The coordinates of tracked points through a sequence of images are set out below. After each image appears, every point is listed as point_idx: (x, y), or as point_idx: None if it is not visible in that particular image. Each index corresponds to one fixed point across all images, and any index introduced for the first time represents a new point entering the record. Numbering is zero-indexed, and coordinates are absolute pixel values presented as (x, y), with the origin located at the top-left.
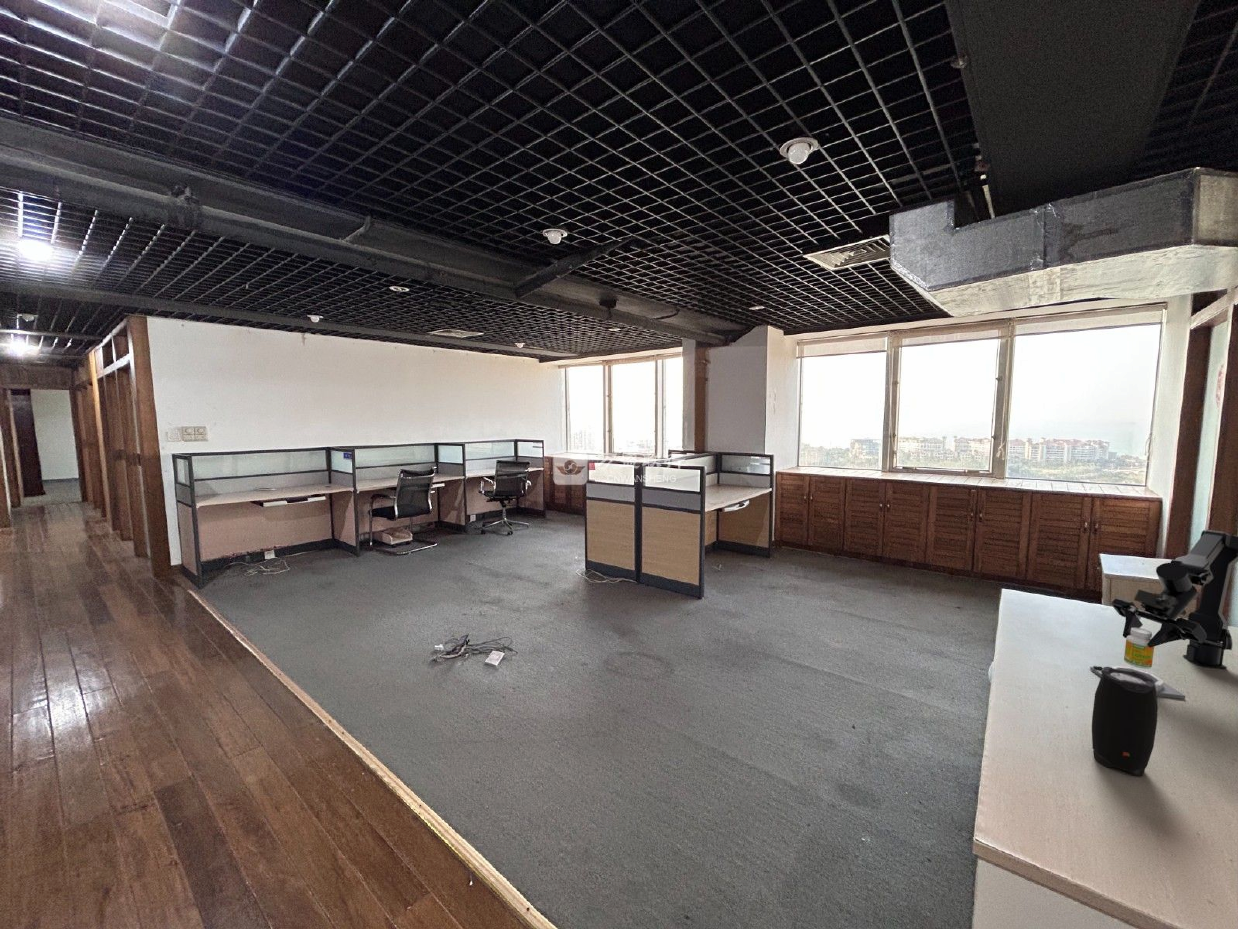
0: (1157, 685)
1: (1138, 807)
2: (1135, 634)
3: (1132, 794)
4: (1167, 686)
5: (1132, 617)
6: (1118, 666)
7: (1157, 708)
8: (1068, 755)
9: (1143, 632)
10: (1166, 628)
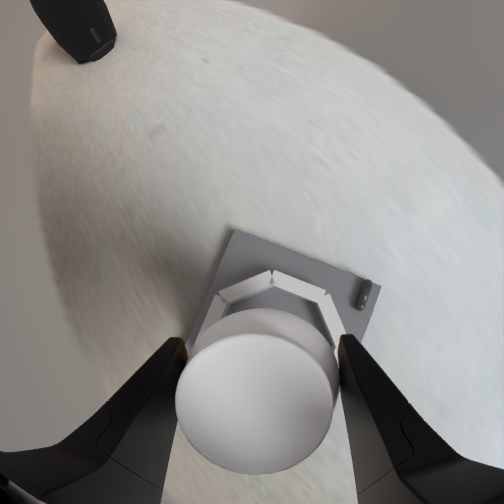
0: (196, 340)
1: None
2: (250, 330)
3: None
4: None
5: (408, 489)
6: None
7: (34, 10)
8: (130, 20)
9: (205, 374)
10: (46, 454)
